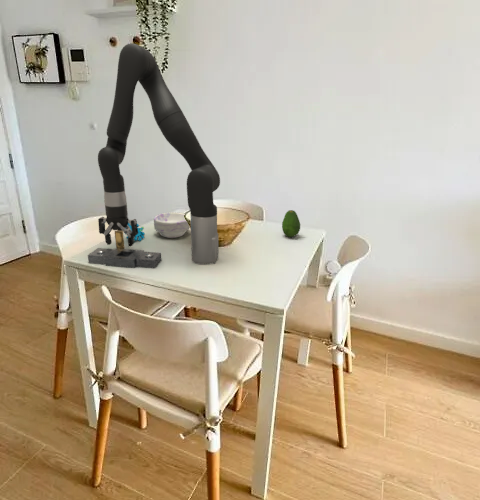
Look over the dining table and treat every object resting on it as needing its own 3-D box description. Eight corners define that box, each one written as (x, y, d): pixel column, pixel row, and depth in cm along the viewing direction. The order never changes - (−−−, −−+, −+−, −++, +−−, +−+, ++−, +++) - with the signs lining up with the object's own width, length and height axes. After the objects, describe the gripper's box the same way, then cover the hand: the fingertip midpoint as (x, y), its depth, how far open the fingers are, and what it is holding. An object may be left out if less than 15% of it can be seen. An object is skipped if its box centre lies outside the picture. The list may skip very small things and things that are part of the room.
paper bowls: (187, 240, 148) (186, 222, 146) (150, 239, 149) (149, 221, 146) (192, 229, 163) (192, 212, 160) (159, 228, 163) (158, 211, 160)
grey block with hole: (162, 259, 130) (161, 250, 128) (153, 269, 121) (152, 260, 120) (100, 254, 132) (98, 245, 131) (87, 264, 124) (85, 254, 123)
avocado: (277, 235, 158) (279, 209, 153) (292, 233, 161) (294, 207, 157) (288, 241, 151) (290, 213, 147) (303, 238, 155) (305, 211, 150)
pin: (126, 250, 137) (124, 230, 134) (122, 253, 134) (120, 233, 131) (118, 249, 137) (116, 229, 135) (115, 252, 135) (113, 232, 132)
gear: (133, 241, 142) (119, 221, 143) (125, 249, 144) (112, 229, 145) (151, 237, 151) (138, 218, 153) (143, 244, 154) (130, 226, 155)
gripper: (138, 202, 132) (141, 243, 138) (102, 199, 133) (106, 240, 139) (130, 207, 125) (133, 250, 131) (91, 204, 127) (97, 247, 133)
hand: (119, 245), depth 135 cm, fingers open, 8 cm apart
